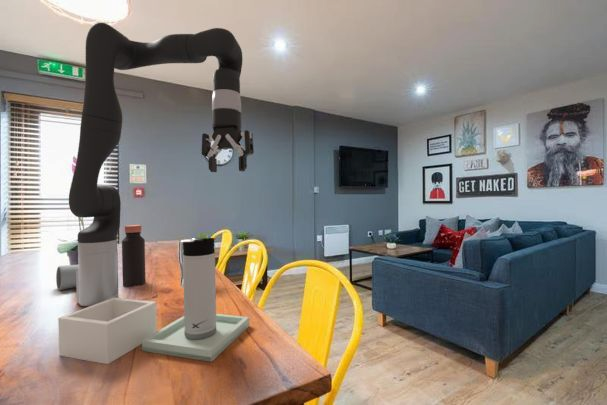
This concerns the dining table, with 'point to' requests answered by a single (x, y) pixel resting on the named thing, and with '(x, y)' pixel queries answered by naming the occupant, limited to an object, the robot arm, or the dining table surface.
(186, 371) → the dining table surface
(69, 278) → the ceramic mug
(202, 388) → the dining table surface
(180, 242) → the beer glass
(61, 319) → the holder
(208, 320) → the travel mug
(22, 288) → the dining table surface
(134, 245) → the bottle
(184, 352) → the tray
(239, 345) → the dining table surface
